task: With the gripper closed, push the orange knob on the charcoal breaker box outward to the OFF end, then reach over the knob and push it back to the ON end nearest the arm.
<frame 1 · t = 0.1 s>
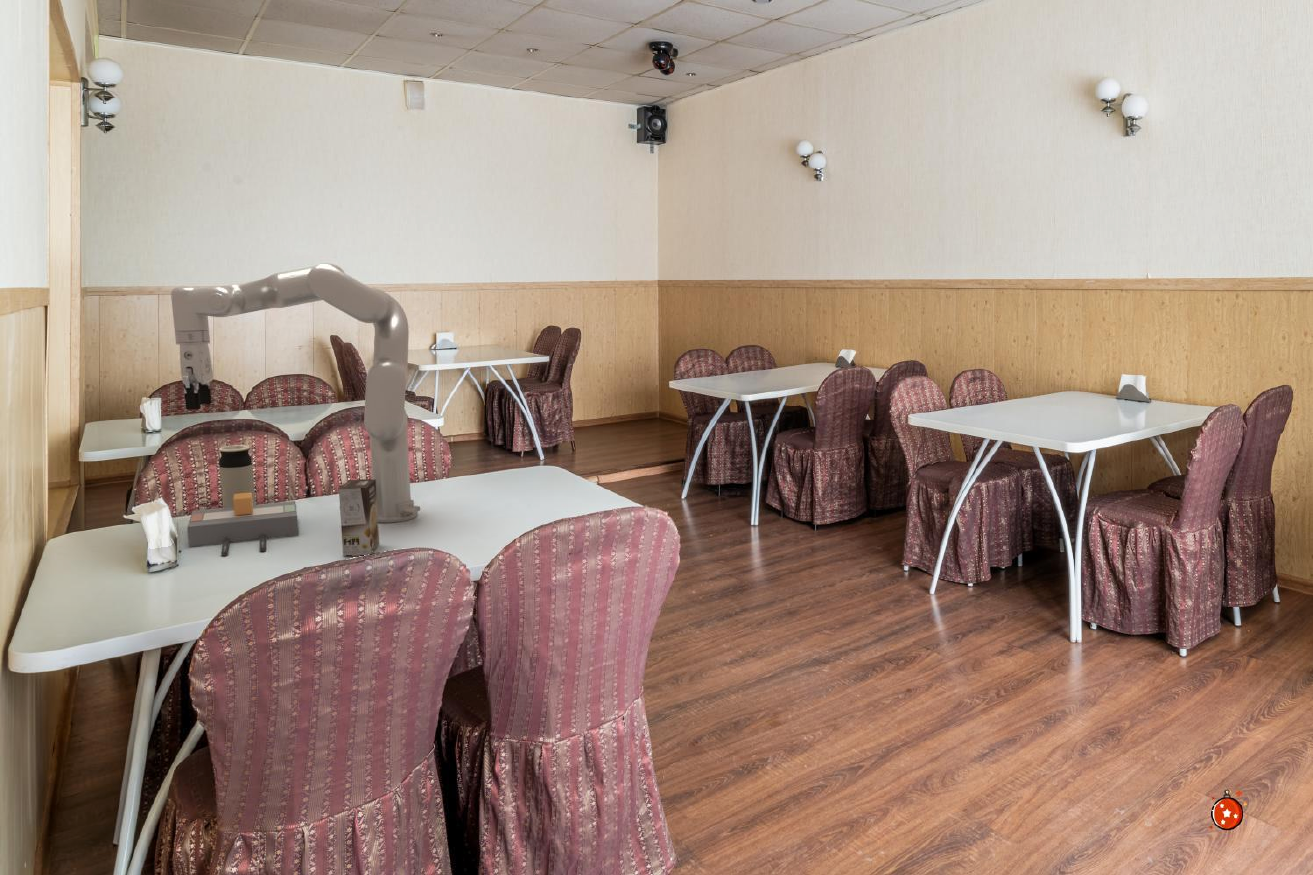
hand: (199, 406, 219), 31 cm above the table, tool pointing down, fingers open, 9 cm apart
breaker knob: (243, 503, 218), point 7 cm above the table, slide at 0.0 cm
coffee box: (361, 551, 205), on the table
breaker box: (245, 532, 220), on the table
travel mug: (240, 513, 239), on the table
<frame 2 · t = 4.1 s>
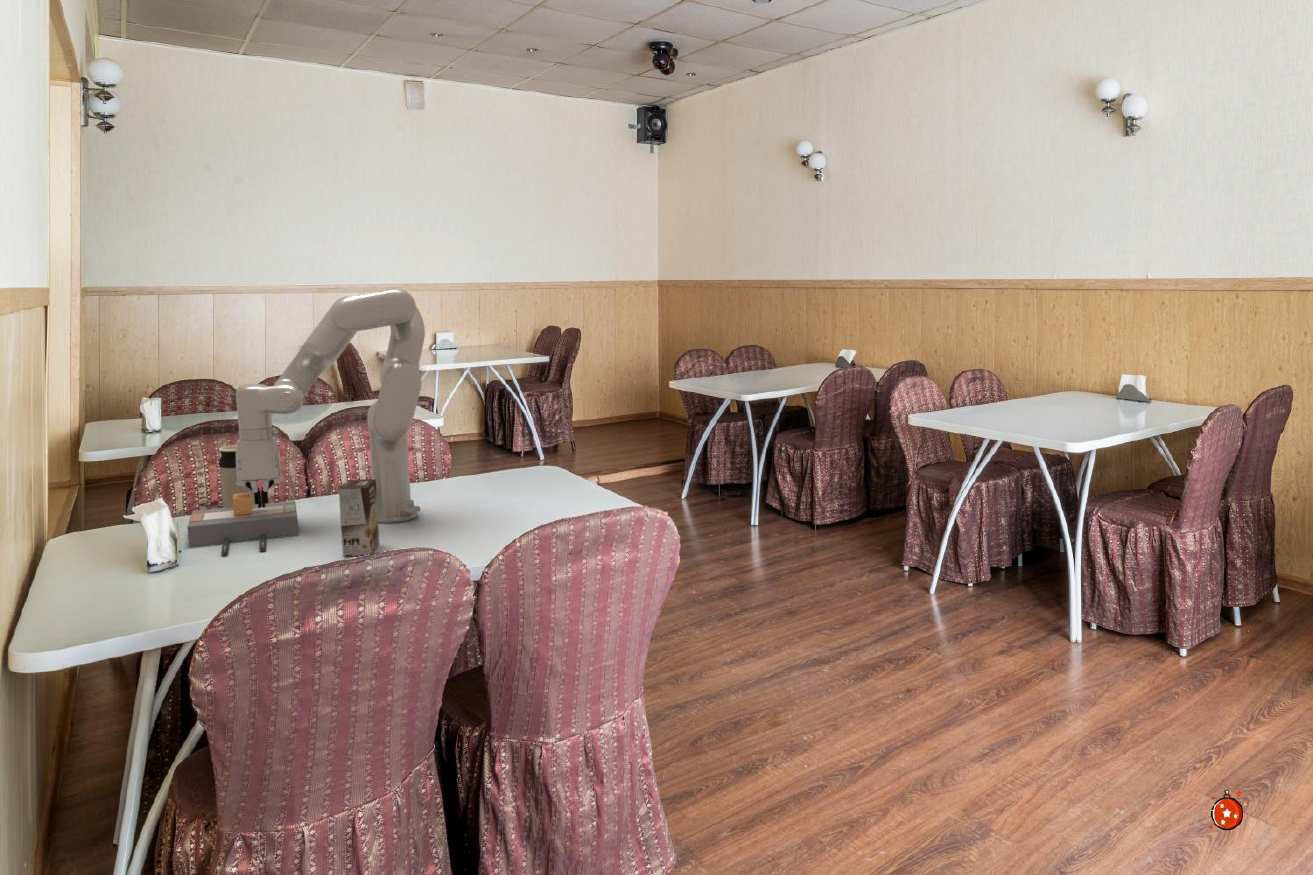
hand: (261, 506, 220), 6 cm above the table, tool pointing down, fingers closed
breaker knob: (242, 503, 218), point 7 cm above the table, slide at 0.2 cm, touching gripper
everything else where it was.
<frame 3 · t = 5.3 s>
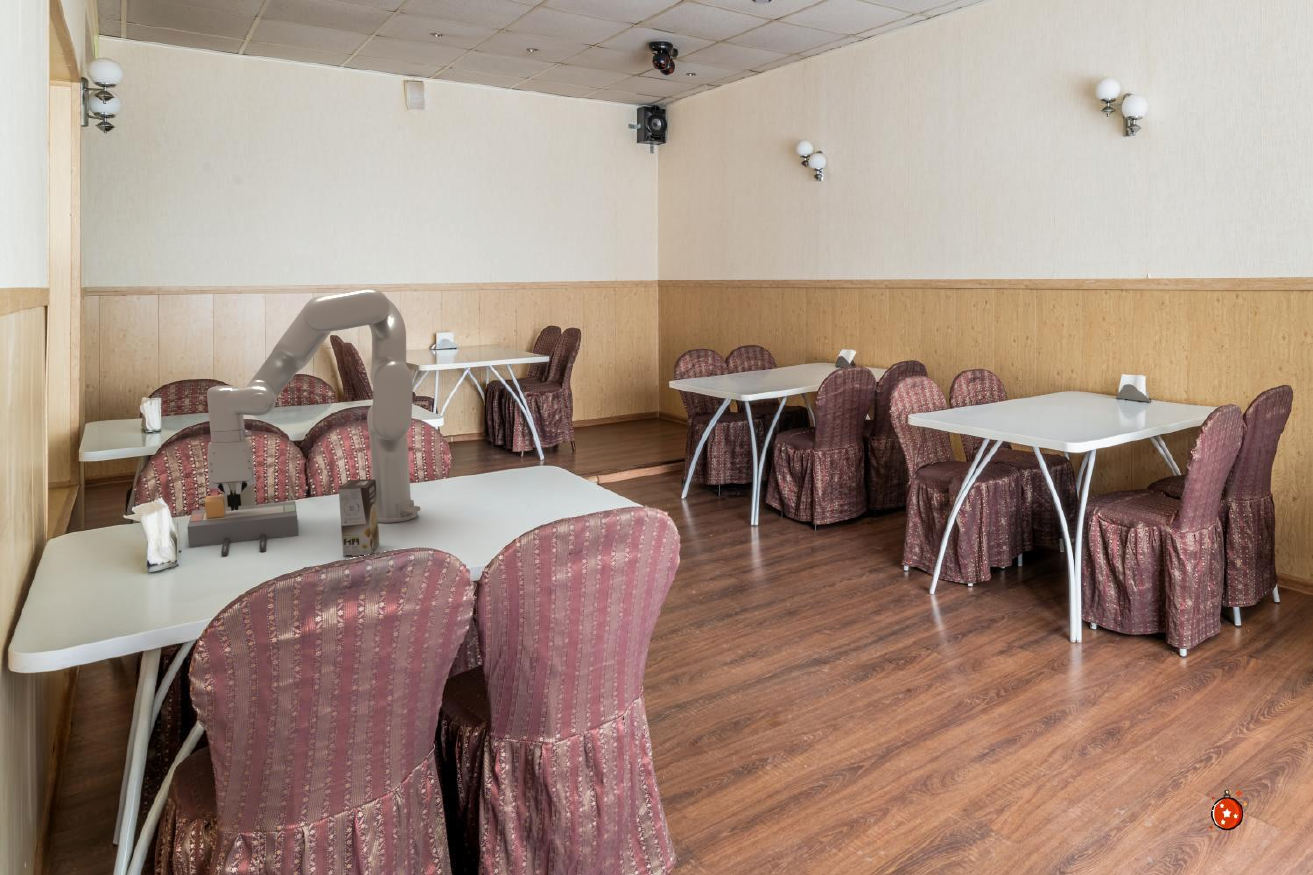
hand: (234, 509, 218), 6 cm above the table, tool pointing down, fingers closed
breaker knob: (215, 506, 216), point 7 cm above the table, slide at 6.2 cm, touching gripper
everything else where it was.
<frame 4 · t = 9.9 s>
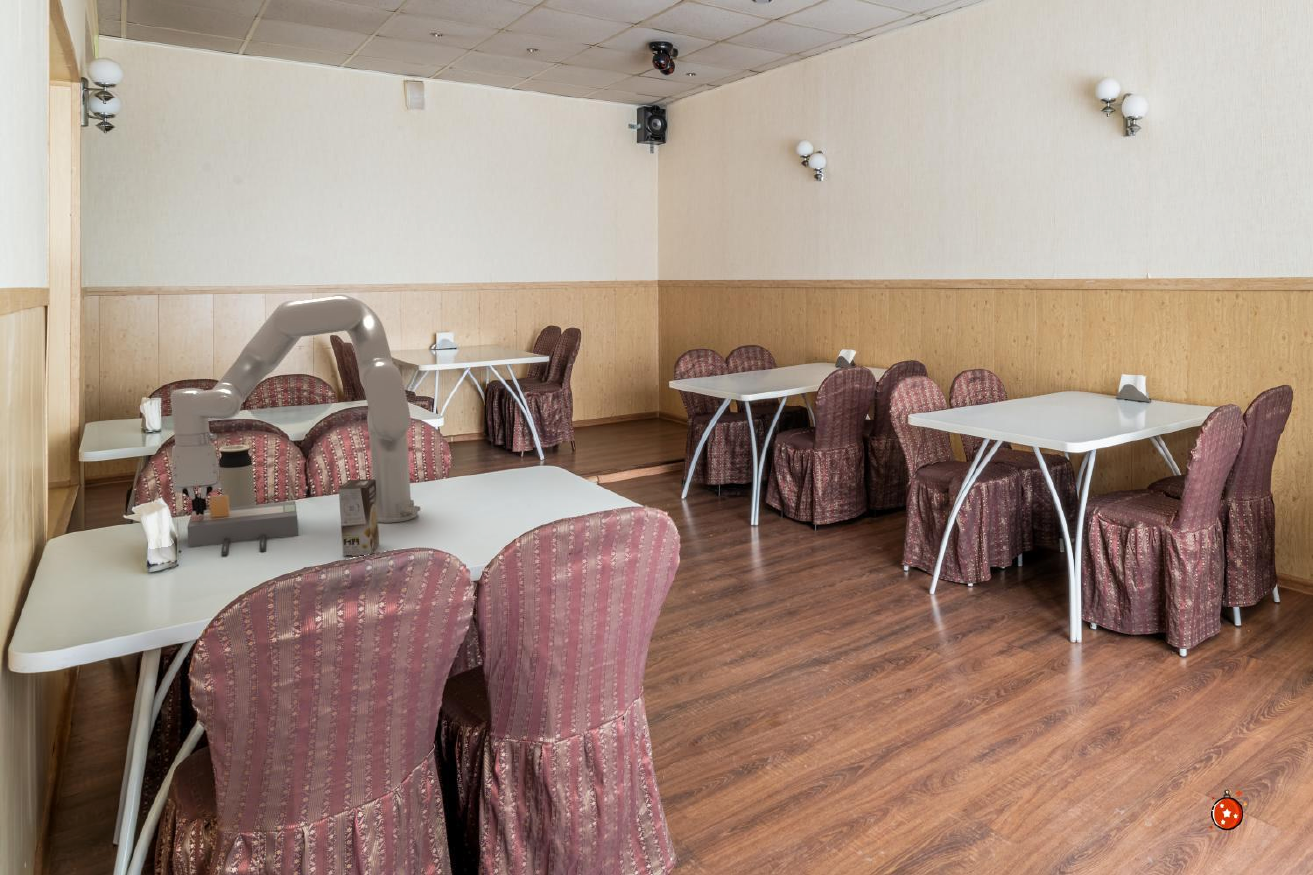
hand: (200, 513, 215), 6 cm above the table, tool pointing down, fingers closed
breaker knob: (219, 505, 216), point 7 cm above the table, slide at 5.3 cm, touching gripper
everything else where it was.
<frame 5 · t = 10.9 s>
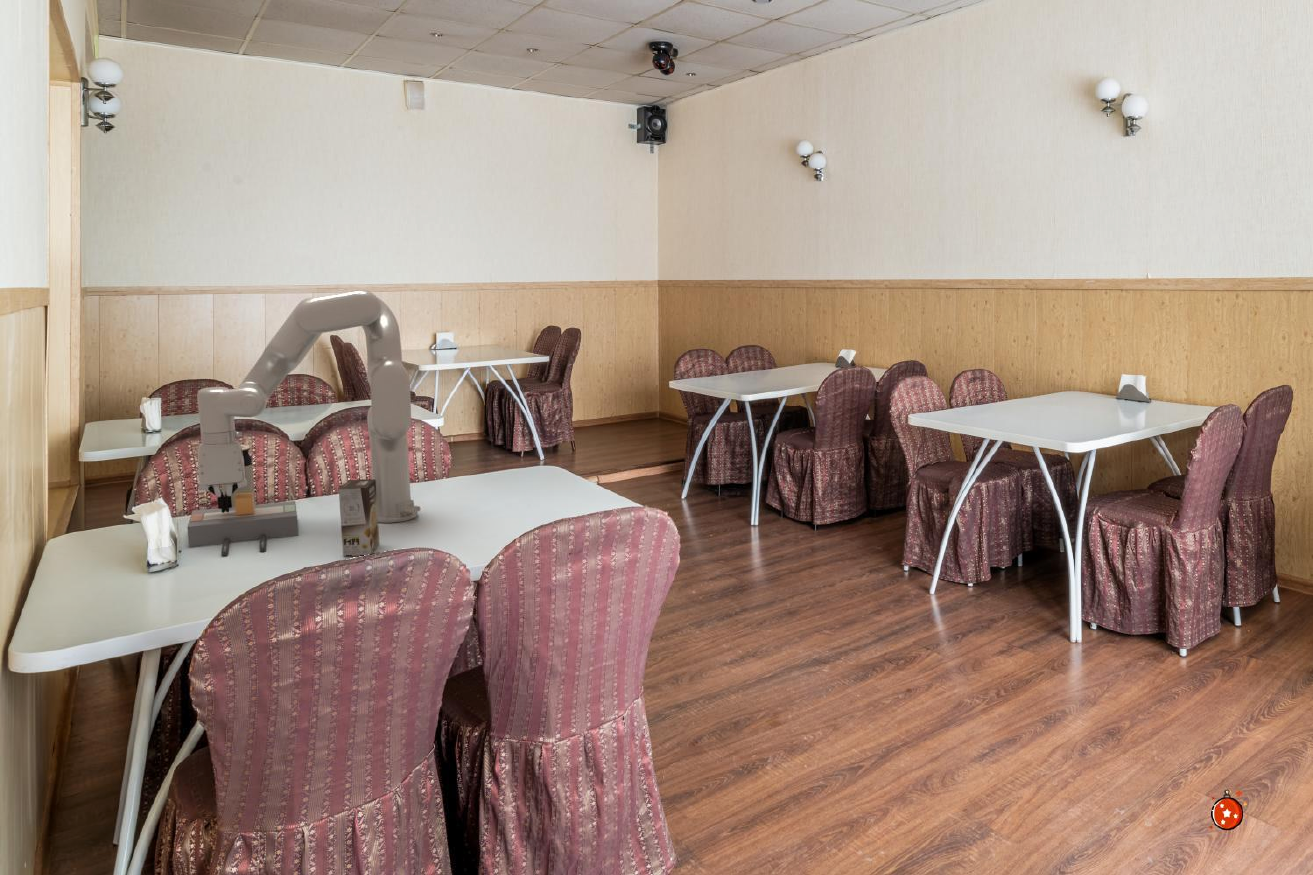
hand: (225, 511, 217), 6 cm above the table, tool pointing down, fingers closed
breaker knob: (244, 503, 218), point 7 cm above the table, slide at -0.3 cm, touching gripper
everything else where it was.
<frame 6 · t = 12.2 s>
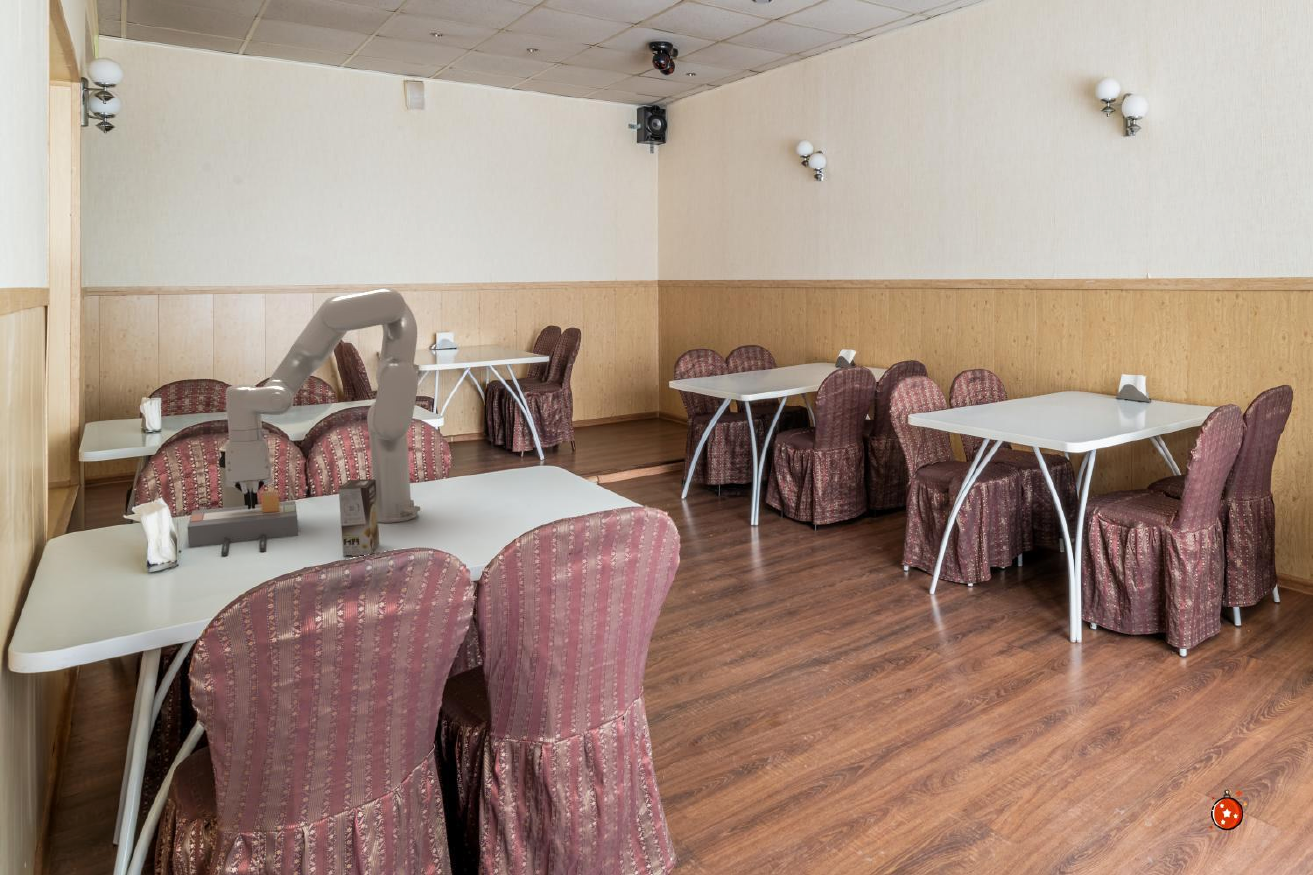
hand: (251, 507, 219), 6 cm above the table, tool pointing down, fingers closed
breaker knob: (270, 501, 221), point 7 cm above the table, slide at -6.1 cm, touching gripper
everything else where it was.
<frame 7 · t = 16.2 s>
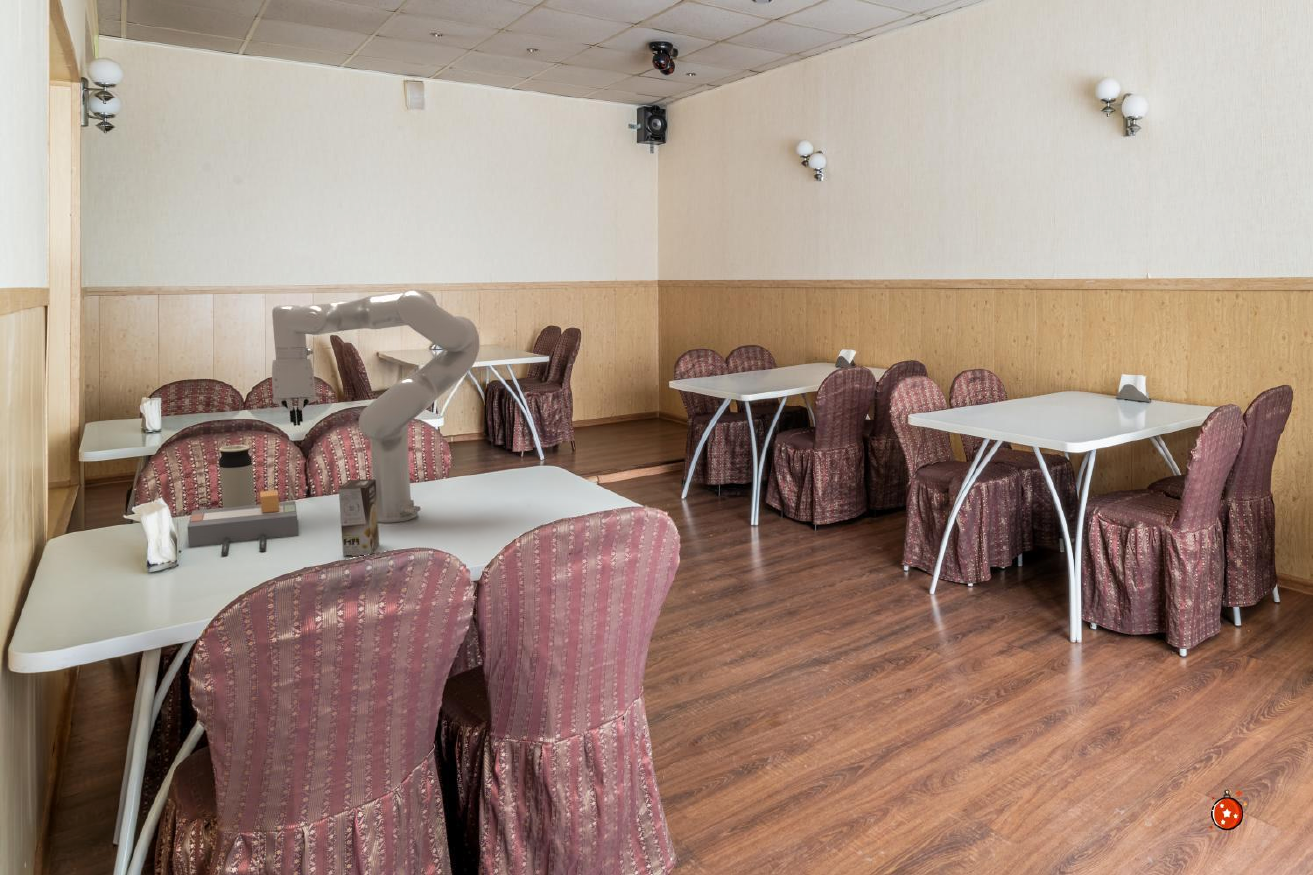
hand: (296, 424, 228), 25 cm above the table, tool pointing down, fingers closed
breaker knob: (269, 501, 221), point 7 cm above the table, slide at -6.1 cm
everything else where it was.
at the end: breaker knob slide at -6.1 cm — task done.
